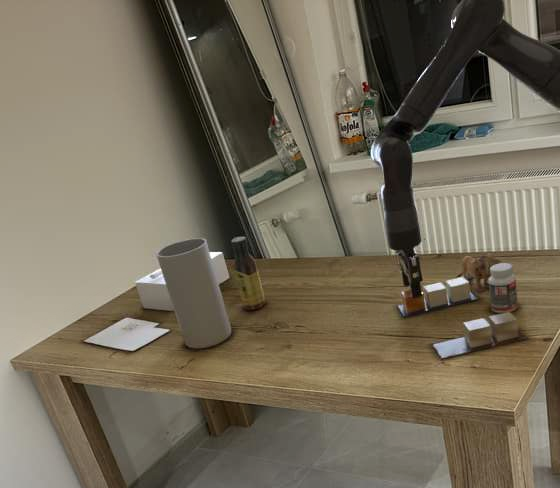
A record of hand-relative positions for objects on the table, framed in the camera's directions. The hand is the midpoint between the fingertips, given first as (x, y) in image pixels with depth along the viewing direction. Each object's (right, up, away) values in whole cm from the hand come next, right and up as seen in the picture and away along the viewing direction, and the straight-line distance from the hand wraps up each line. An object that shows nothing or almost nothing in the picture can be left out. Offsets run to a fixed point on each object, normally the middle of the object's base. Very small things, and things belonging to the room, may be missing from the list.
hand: (412, 291), depth 162 cm
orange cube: (+1, -4, +2) cm, 4 cm away
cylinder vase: (-50, -11, +15) cm, 53 cm away
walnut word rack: (+10, -13, -20) cm, 26 cm away
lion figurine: (+18, +2, +6) cm, 19 cm away
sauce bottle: (-38, -1, +28) cm, 48 cm away
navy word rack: (+6, -3, +2) cm, 7 cm away
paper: (-74, -9, +31) cm, 81 cm away
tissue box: (-61, +6, +52) cm, 80 cm away
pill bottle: (+19, -5, -8) cm, 21 cm away
